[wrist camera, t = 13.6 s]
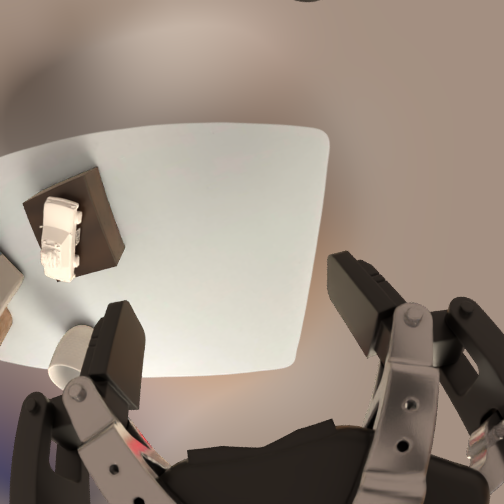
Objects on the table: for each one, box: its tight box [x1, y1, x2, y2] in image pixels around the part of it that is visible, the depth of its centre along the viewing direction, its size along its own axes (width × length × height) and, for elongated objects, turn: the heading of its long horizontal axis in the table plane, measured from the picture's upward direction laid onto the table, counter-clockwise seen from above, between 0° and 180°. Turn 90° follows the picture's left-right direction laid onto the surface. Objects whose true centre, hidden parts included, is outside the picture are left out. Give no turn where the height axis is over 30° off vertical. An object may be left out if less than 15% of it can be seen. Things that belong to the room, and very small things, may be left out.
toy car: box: [40, 197, 82, 282], centre depth 29 cm, size 6×12×7 cm, turn 160°
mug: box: [48, 325, 93, 390], centre depth 43 cm, size 15×11×13 cm
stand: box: [23, 167, 125, 282], centre depth 34 cm, size 14×12×6 cm
